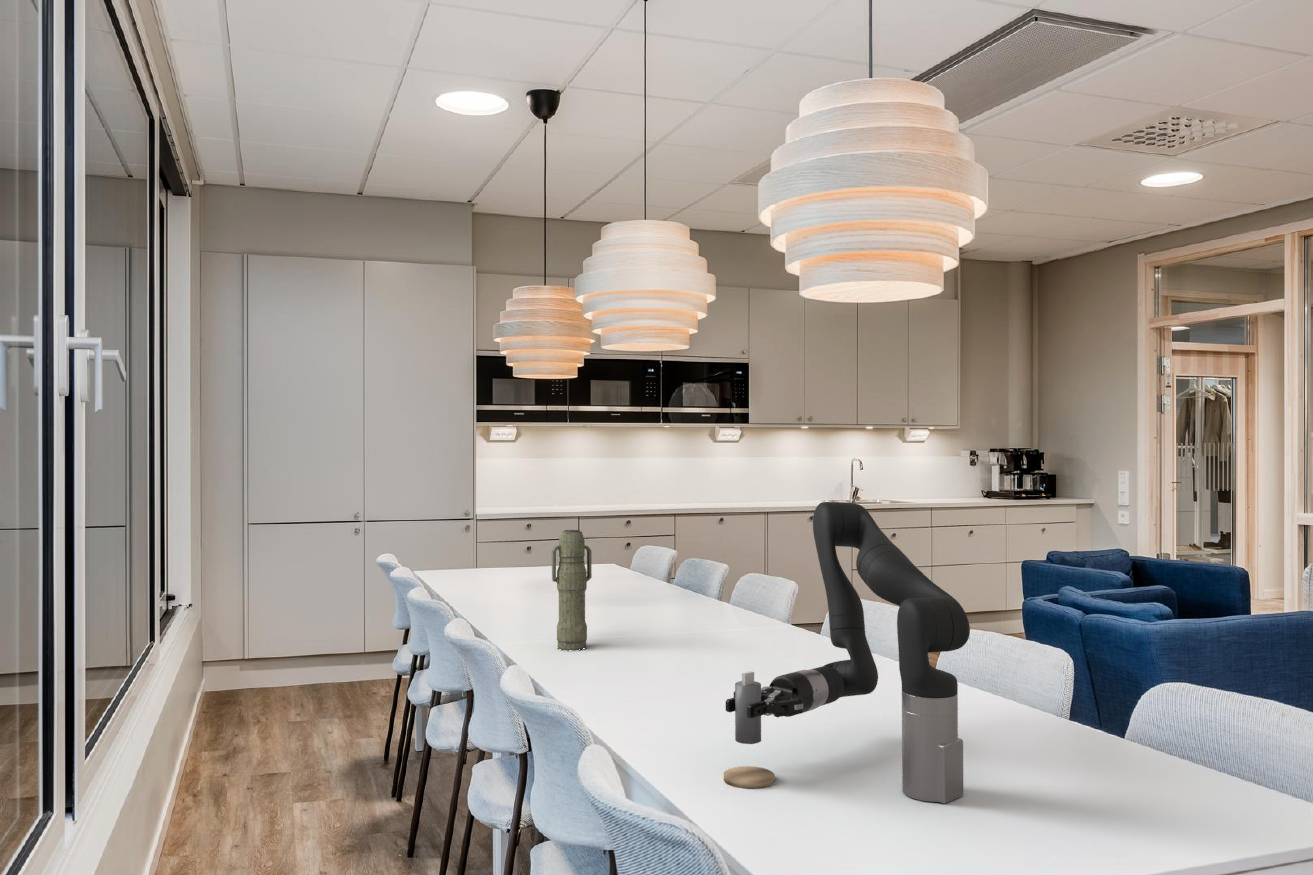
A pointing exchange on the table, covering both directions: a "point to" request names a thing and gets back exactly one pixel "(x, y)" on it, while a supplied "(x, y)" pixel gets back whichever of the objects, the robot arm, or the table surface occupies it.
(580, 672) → the table surface
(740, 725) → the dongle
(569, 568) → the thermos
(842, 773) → the table surface
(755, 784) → the coaster
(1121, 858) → the table surface
